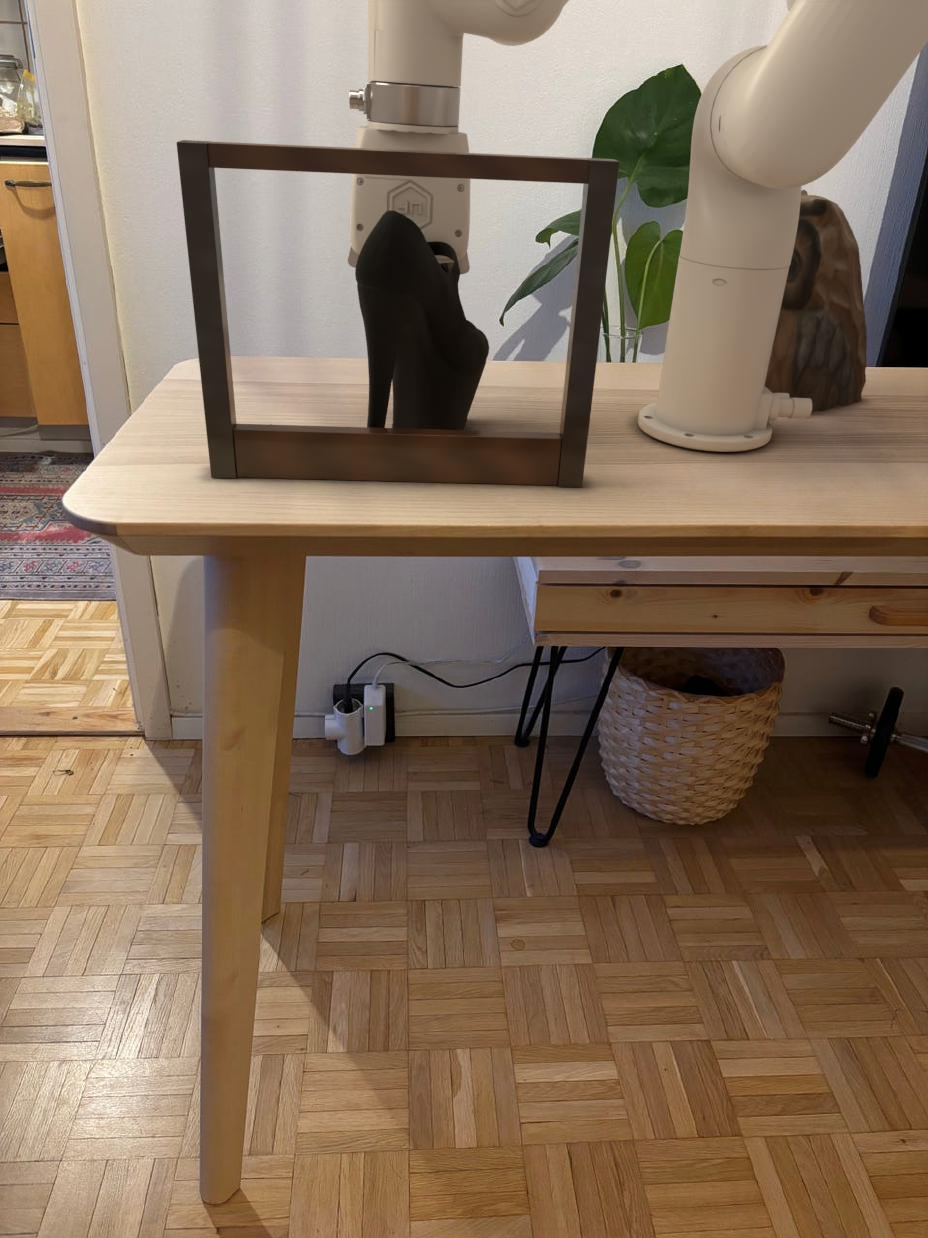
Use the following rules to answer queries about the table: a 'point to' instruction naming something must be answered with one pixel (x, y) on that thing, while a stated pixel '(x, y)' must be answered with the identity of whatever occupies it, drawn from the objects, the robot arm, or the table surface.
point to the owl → (821, 312)
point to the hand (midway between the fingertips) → (407, 337)
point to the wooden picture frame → (393, 448)
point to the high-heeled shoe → (416, 330)
